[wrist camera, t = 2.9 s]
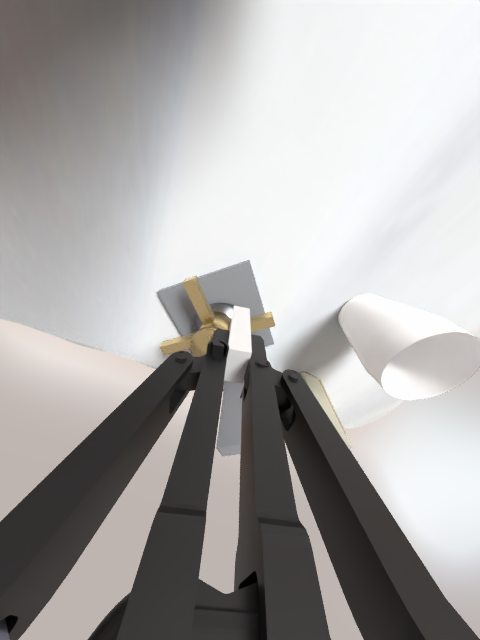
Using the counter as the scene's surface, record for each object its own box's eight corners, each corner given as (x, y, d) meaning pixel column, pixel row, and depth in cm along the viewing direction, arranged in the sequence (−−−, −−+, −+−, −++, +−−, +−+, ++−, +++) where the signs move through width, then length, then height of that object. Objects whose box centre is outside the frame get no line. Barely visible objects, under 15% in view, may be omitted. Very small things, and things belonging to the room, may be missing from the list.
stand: (159, 290, 27) (86, 348, 14) (249, 259, 24) (252, 299, 12) (212, 382, 36) (194, 466, 24) (281, 367, 33) (301, 452, 21)
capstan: (145, 288, 25) (115, 309, 19) (254, 251, 22) (257, 262, 17) (197, 373, 33) (186, 406, 27) (282, 353, 30) (291, 385, 24)
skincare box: (301, 397, 37) (323, 467, 27) (283, 389, 36) (298, 459, 26) (321, 378, 35) (354, 448, 24) (302, 369, 34) (328, 438, 23)
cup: (339, 345, 31) (387, 410, 20) (322, 303, 27) (370, 355, 17) (396, 323, 28) (486, 383, 18) (386, 273, 25) (491, 312, 14)
